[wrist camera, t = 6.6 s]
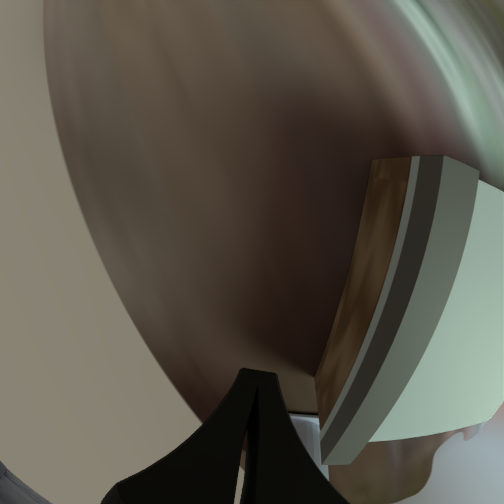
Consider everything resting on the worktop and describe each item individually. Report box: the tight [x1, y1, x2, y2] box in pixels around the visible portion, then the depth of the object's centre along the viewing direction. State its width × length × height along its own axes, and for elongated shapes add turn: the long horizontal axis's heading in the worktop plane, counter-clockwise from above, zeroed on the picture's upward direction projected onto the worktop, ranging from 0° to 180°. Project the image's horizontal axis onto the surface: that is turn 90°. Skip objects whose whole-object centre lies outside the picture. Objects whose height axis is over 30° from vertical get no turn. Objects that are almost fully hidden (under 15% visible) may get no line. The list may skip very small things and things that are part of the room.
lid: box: [319, 155, 504, 465], centre depth 11 cm, size 18×18×3 cm
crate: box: [314, 157, 412, 431], centre depth 16 cm, size 18×18×6 cm
